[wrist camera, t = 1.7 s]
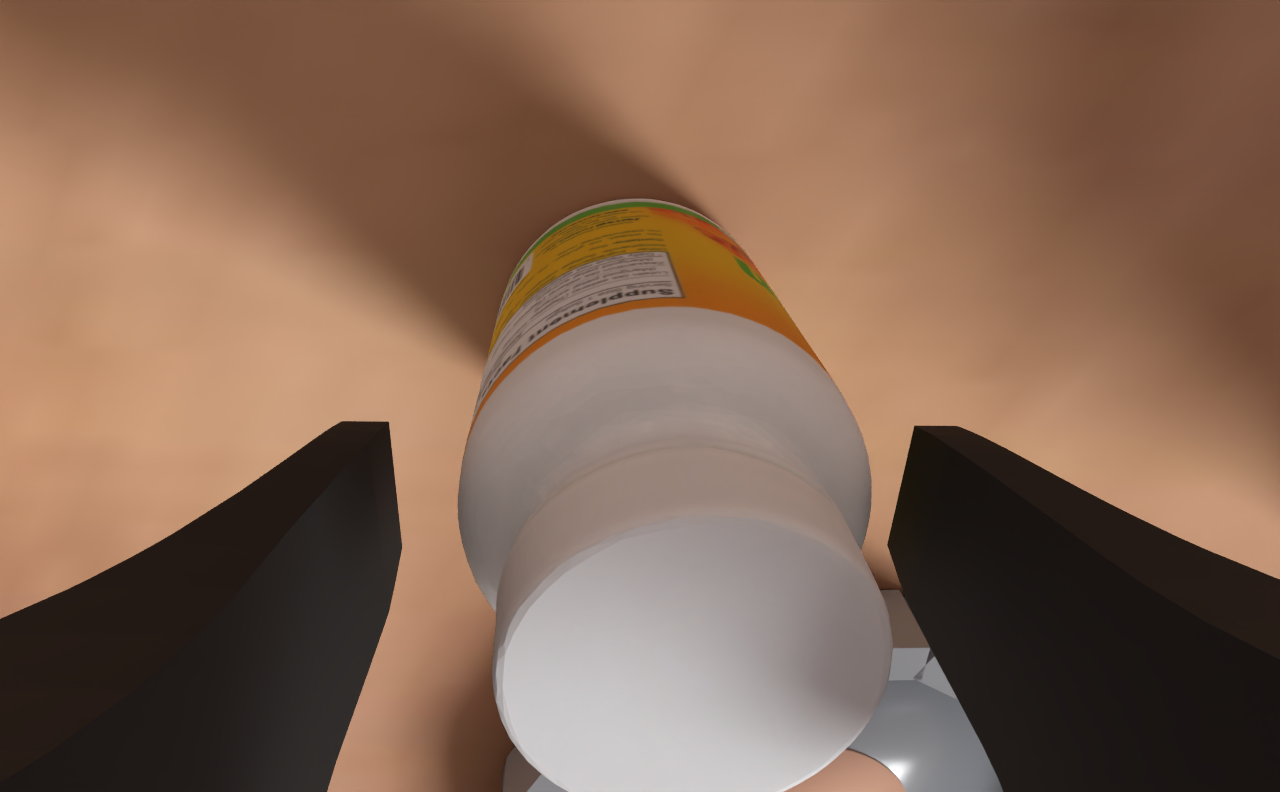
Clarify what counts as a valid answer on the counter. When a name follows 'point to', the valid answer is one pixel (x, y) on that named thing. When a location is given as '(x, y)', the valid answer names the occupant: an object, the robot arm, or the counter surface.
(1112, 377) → the counter surface
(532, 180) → the counter surface
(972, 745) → the round tray
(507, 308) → the supplement bottle
